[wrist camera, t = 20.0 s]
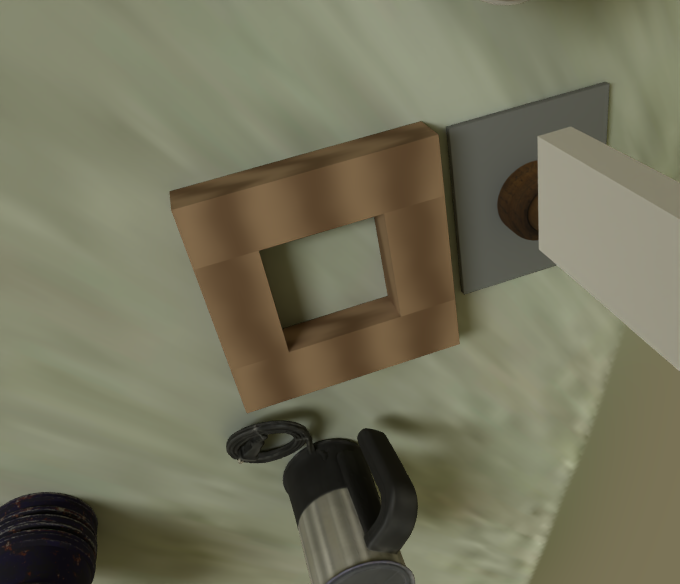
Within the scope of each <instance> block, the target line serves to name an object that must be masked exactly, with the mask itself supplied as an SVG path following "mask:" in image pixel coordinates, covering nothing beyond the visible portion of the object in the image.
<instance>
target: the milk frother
mask: <svg viewBox="0 0 680 584" xmlns="http://www.w3.org/2000/svg"><path fill="white" fill-rule="evenodd" d="M273 433H287V434H290V435H292V436H293V437H294V439H293V440H292V441H291V442H290V443H288V444H287V445H285V446H283V447H281V448H278V449H275V450H272V451H267V452H261V453H259V451H260V449H261V447H262V446H263V444H264V440H265V439H267V438H268V434H273ZM357 439H358V443H359V445H360V446H358V445H357V444H355V443H353V442H350V441H348V440H342V439H330V440H323V441H321V442H317V443H314V444H313V442H312V438H311V436H310V434H309V432H308V430H307V428H306V427H305V426H303V425H301V424H299V423H296V422H292V421H268V422H263V423H258V424H254V425H251V426H248V427H245V428H243V429H241V430H239V431H237V432H235V433H234V434H233V435H231V436H230V437H229V439H228V441H227V444H226V448H227V452H228V454H229V455H230V456H231V457H232V458H233V459H237V460H238V462H239V464H242V463H243V462H247V463H248V462H249V463H266V462H271V461H274V460H277V459H281V458H283V457H286V456H288V455H290V454H292V453H294V452H295V451H297V450H299V449H300V448H301V447H302V446H303V445H304V444H305V443H307V447H306V448H304V449H303V450H301V451H300V452H298V453H297V454H296V455H295V456H294V457H293V458H292V459H291V461H290V462H289V463H288V465H287V466H286V469H285V471H284V475H283V484H284V488H285V490H286V492H287V493H288V494H289V497H290V501H291V504H292V508H293V511H294V515H295V519H296V522H297V526H298V531H299V534H300V539H301V543H302V547H303V552H304V556H305V560H306V564H307V568H308V572H309V576H310V580H311V584H415V578H414V575H413V573H412V571H411V570H410V569H409V568H407V567H406V565H405V563H404V560H403V557H402V555H401V552H400V549H401V548H402V546H403V545H404V544H405V542H406V541H407V539H408V538H409V536H410V535H411V533H412V530H413V528H414V525H415V522H416V518H417V509H418V503H417V495H416V491H415V488H414V486H413V484H412V482H411V480H410V478H409V476H408V475H407V473H406V471H405V469H404V467H403V465H402V463H401V461H400V460H399V458H398V456H397V454H396V452H395V451H394V449H393V447H392V445H391V444H390V442H389V440H388V438H387V437H386V435H385V434H384V433H383V432H380V431H377V430H373V429H368V428H365V429H362V430H361V431H360V432H359V434H358V437H357ZM371 473H372V475H373V478H374V480H375V482H376V484H377V486H378V488H379V491H380V493H381V500H380V497H379V495H378V492H377V489H376V487H375V484H374V481H373V478H372V475H371Z"/></svg>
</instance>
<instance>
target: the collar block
mask: <svg viewBox="0 0 680 584" xmlns="http://www.w3.org/2000/svg"><path fill="white" fill-rule="evenodd" d="M170 201H171V211H172V213H173V216H174V219H175V221H176V224H177V227H178V229H179V232H180V235H181V237H182V240H183V243H184V246H185V248H186V251H187V254H188V256H189V259H190V262H191V264H192V267H193V270H194V272H195V275H196V278H197V280H198V283H199V286H200V289H201V291H202V294H203V297H204V299H205V302H206V305H207V307H208V310H209V313H210V315H211V318H212V321H213V324H214V326H215V329H216V332H217V334H218V337H219V340H220V342H221V345H222V348H223V350H224V353H225V356H226V358H227V361H228V364H229V367H230V369H231V372H232V375H233V377H234V380H235V383H236V385H237V388H238V391H239V393H240V396H241V399H242V402H243V404H244V407H245V410H246V412H247V413H250V412H253V411H256V410H259V409H262V408H265V407H268V406H271V405H274V404H277V403H280V402H283V401H286V400H289V399H292V398H296V397H299V396H302V395H305V394H308V393H311V392H314V391H317V390H320V389H323V388H326V387H329V386H332V385H335V384H338V383H341V382H345V381H348V380H351V379H354V378H357V377H360V376H363V375H366V374H369V373H372V372H375V371H378V370H381V369H384V368H387V367H390V366H394V365H397V364H400V363H403V362H406V361H409V360H412V359H415V358H418V357H421V356H424V355H427V354H430V353H433V352H436V351H439V350H443V349H446V348H449V347H452V346H455V345H458V344H460V342H459V332H458V322H457V313H456V303H455V293H454V283H453V273H452V263H451V253H450V244H449V234H448V224H447V214H446V204H445V194H444V184H443V175H442V165H441V155H440V145H439V135H438V134H437V133H436V132H434V131H433V130H432V129H431V128H429V127H428V126H427V125H425V124H424V123H423V122H421V121H420V122H416V123H413V124H409V125H406V126H402V127H399V128H395V129H391V130H388V131H384V132H381V133H377V134H374V135H370V136H366V137H363V138H359V139H356V140H352V141H348V142H345V143H341V144H338V145H334V146H331V147H327V148H323V149H320V150H316V151H313V152H309V153H306V154H302V155H298V156H295V157H291V158H288V159H284V160H280V161H277V162H273V163H270V164H266V165H263V166H259V167H255V168H252V169H248V170H245V171H241V172H238V173H234V174H230V175H227V176H223V177H220V178H216V179H212V180H209V181H205V182H202V183H198V184H195V185H191V186H187V187H184V188H180V189H177V190H173V191H170ZM371 217H374V219H375V225H376V230H377V236H378V242H379V248H380V253H381V259H382V265H383V271H384V277H385V282H386V288H387V294H388V296H386V297H383V298H380V299H376V300H373V301H370V302H367V303H364V304H360V305H357V306H354V307H351V308H348V309H344V310H341V311H338V312H335V313H332V314H328V315H325V316H322V317H319V318H316V319H312V320H309V321H306V322H303V323H299V324H296V325H293V326H290V327H287V328H283V329H282V327H281V324H280V321H279V317H278V314H277V311H276V307H275V304H274V300H273V297H272V294H271V290H270V287H269V284H268V280H267V277H266V274H265V270H264V267H263V263H262V260H261V257H260V253H259V250H263V249H266V248H269V247H273V246H276V245H280V244H283V243H286V242H290V241H293V240H296V239H300V238H303V237H307V236H310V235H313V234H317V233H320V232H324V231H327V230H330V229H334V228H337V227H340V226H344V225H347V224H351V223H354V222H357V221H361V220H364V219H367V218H371Z"/></svg>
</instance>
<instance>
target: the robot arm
mask: <svg viewBox="0 0 680 584" xmlns="http://www.w3.org/2000/svg"><path fill="white" fill-rule="evenodd" d="M537 138H538V222H539V250H540V251H541V252H542V253H544V254H545V255H546V256H547V257H548V258H549V259H551V260H552V261H553V262H554V263H555V264H556V265H557V266H559V267H560V268H561V269H562V270H563V271H564V272H566V273H567V274H568V275H569V276H570V277H571V278H572V279H574V280H575V281H576V282H577V283H578V284H579V285H581V286H582V287H583V288H584V289H585V290H586V291H587V292H589V293H590V294H591V295H592V296H593V297H594V298H596V299H597V300H598V301H599V302H600V303H601V304H602V305H604V306H605V307H606V308H607V309H608V310H609V311H611V312H612V313H613V314H614V315H615V316H616V317H617V318H619V319H620V320H621V321H622V322H623V323H624V324H626V325H627V326H628V327H629V328H630V329H631V330H632V331H634V332H635V333H636V334H637V335H638V336H640V337H641V338H642V339H643V340H644V341H645V342H646V343H648V344H649V345H650V346H651V347H652V348H653V349H654V350H656V351H657V352H658V353H659V354H660V355H661V356H663V357H664V358H665V359H666V360H667V361H668V362H669V363H671V364H672V365H673V366H674V367H675V368H676V369H677V370H679V371H680V182H678V181H676V180H674V179H672V178H670V177H668V176H666V175H664V174H662V173H660V172H658V171H656V170H654V169H653V168H651V167H649V166H647V165H645V164H643V163H641V162H639V161H637V160H635V159H633V158H631V157H629V156H627V155H625V154H623V153H622V152H620V151H618V150H616V149H614V148H612V147H610V146H608V145H606V144H604V143H602V142H600V141H598V140H596V139H594V138H592V137H591V136H589V135H587V134H585V133H583V132H581V131H579V130H577V129H575V128H573V127H567V128H564V129H560V130H557V131H554V132H550V133H547V134H543V135H540V136H537Z"/></svg>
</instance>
